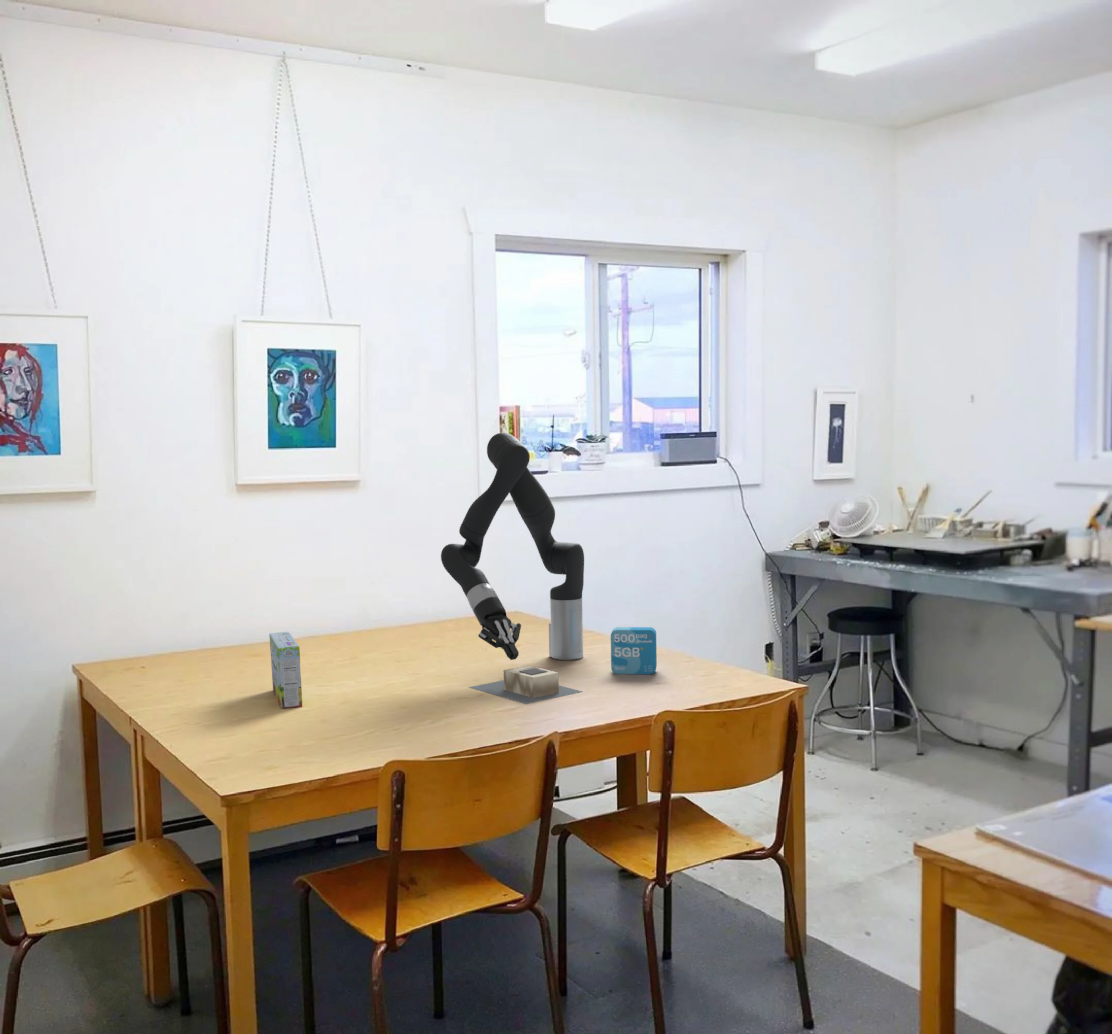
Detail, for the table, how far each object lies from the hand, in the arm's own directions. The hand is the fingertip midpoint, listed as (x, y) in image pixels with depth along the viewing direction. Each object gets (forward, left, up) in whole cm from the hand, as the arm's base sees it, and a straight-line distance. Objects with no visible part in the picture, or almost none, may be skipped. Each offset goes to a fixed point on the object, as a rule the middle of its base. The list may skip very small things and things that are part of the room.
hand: (514, 657), depth 276 cm
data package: (+8, +34, -8) cm, 36 cm away
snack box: (-31, -48, -8) cm, 58 cm away
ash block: (0, 0, -5) cm, 5 cm away
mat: (+4, 0, -8) cm, 9 cm away
